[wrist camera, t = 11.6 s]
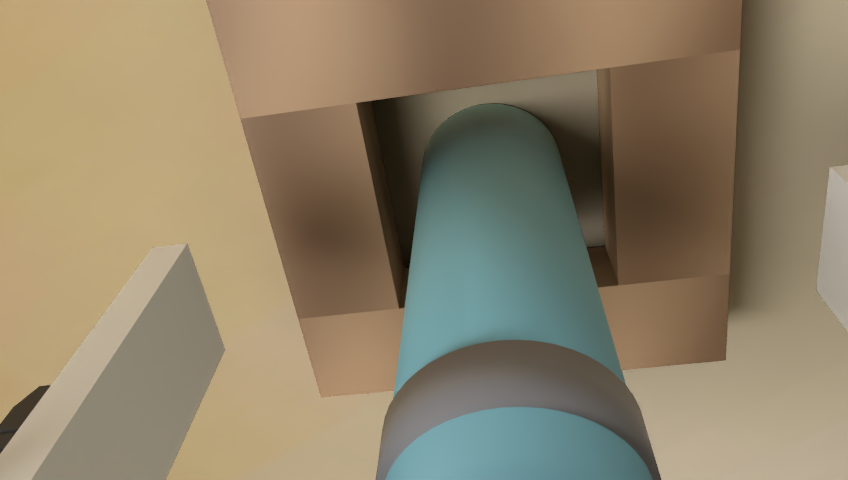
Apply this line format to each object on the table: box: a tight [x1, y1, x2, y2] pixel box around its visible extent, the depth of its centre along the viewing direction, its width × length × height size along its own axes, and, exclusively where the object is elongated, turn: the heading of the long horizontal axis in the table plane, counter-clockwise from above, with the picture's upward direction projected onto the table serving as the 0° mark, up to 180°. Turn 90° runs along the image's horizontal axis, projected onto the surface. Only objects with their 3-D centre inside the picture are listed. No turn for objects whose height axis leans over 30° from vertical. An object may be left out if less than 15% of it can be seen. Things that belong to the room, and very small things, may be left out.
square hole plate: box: [206, 0, 742, 397], centre depth 19 cm, size 11×11×2 cm
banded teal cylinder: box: [376, 104, 661, 480], centre depth 14 cm, size 4×4×12 cm
